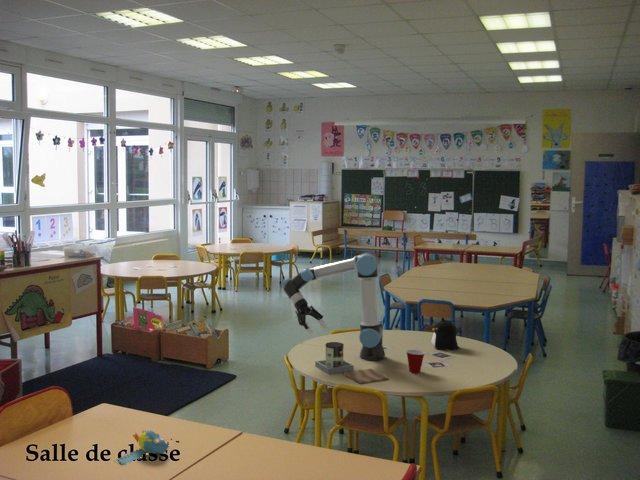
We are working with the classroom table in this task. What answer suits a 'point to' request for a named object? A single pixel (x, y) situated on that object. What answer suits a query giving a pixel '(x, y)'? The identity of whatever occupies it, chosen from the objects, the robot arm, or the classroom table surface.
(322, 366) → the grey tub
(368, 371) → the walnut board
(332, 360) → the coffee can
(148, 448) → the blue toy bird
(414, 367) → the plastic cup
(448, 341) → the penguin
